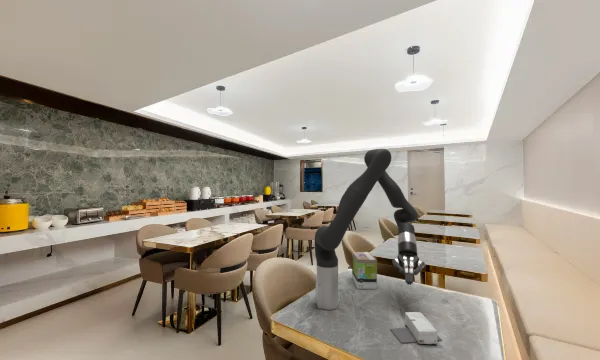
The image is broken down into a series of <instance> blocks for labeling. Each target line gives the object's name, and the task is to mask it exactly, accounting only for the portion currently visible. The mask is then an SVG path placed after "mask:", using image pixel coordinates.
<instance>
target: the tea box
mask: <svg viewBox="0 0 600 360" xmlns="http://www.w3.org/2000/svg"><path fill="white" fill-rule="evenodd" d="M351 258H352V259H351V268H352V269H351V279H352V281H353V282H354V284H355V286H356V289H358V290H377V288H378V284H377V283H378V259H377V258H376V256H374V255H373V253H371V252H370V251H352V253H351Z"/></svg>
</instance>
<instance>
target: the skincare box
mask: <svg viewBox="0 0 600 360" xmlns="http://www.w3.org/2000/svg"><path fill="white" fill-rule="evenodd" d="M404 314H405V315H404V318H405V319H404V320H405V322H404V323H405V325H406V326H407V328H409V329H410V331H411V332H412V334H413V335H414V337H415V338H416V340H417V341H418V344H421V345H423V344H426V345H432V344H433V345H434V344H435V345H437V344H438V341H437V336H438V331H437V329H436V328H435V327H434V326H433V325H432V324H431V323H430V321H429V320H428V319H427V318H426V317H425V316H424V315H423V313H422V312H421V311H418V312H417V311H411V312H410V311H408V312H407V311H406V312H404Z"/></svg>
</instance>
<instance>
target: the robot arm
mask: <svg viewBox="0 0 600 360" xmlns="http://www.w3.org/2000/svg"><path fill="white" fill-rule="evenodd" d="M363 160H364V165H366V167H367V168H366V169H365V170H364V172H363V173H361V175H360V176H359V177H358V178H356V179H354V181H353V182H351V183H350V184H349V185H348V187H347V188H346V190H345V191H344V193H343V194H342V196H341V197H340V201H339V203H338V207H337V211H336V214H335V216H334V218H333V219H332V221H331V222H330V224H329V225H328V226H327V225H324V226H323V225H322V226H320V227H319V228H317V230H316V231H315V234H314V256H315V260H316V261H315V262H316V280H315V303H316V306H317V308H318V309H321V310H329V311H330V310H336V309H337V308H338V307H339V258H338V256H337V254H336V249H337V248H338V247H339V245H340V244H341V242H342V240H343V238H344V237H345V235H346V232H347V230H348V228H349V226H350V224H352V221H353V220H354V218H355V217H356V215H357V213H358V211H359V210H361V207H362V206H363V204H364V203H365V201H366V199H367V198H368V196H369V194H370V193H371V191H372V190H373V188H374V186H375V185H376V184H377V182H378V184H379V185H380V187H381V188H382V190H383V192H384V193H385V195H386V197H387V199H388V201H389V203H390V205H391V207H393V208H395V209H397V210H395V211H394V212H393V219H394V221H395V223H396V226H397V233H398V234H397V237H398V238H397V251H398V253H397V256H396V257H397V258H395V259H394V258H393V259H392V265H393V266H394V267H395V269H397V271H398V272H399V273H400V275H404V280H405V284H407V285H409V286H412V284H414V276H417V275H418V274H420V273H421V271H422V270H423V269H424V268H425V265H426V263H425V261H421V260H420V258H419V256H418V247H417V239H416V229H415V227H414V225H413V224H412V222H416V221H417V220H418V218H419V217H418V216H419V215H418V212H417V209H415V207H414V206H413V205H412V204H411V203H410V202H409V201H408V200H407V198H406V196H405V194H404V192H403V191H402V189H401V187H400V186H399V185H398V183H397V182H396V181H395V180H394V179H393V178H392V177H391V176H390V175H389V174H388V172H387V171H386V170H387V169H388V168H389V167H390V164H391V162H392V154H391V152H390V150H388V149H386V148H375V149H374V148H373V149H370V150H367V152H366V153H365V154H364V157H363ZM416 266H417V267H416ZM415 267H416V268H415ZM414 268H415V269H414Z"/></svg>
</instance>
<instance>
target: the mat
mask: <svg viewBox="0 0 600 360" xmlns="http://www.w3.org/2000/svg"><path fill="white" fill-rule="evenodd" d="M390 332H391V333H392V334H393V335H394V336H395V338H396V339H397V340H398V342H400V344H401V345H403V344H404V345H405V344H417V343H418V341H417V340H416V338H415V337H414V335H413V334H412V332H411V331H410V329H409V328H408V327H399V328H398V327H395V328H390ZM442 341H443V339H442V338H441V337H440V336H439V335H437V342H442ZM418 344H419V343H418Z"/></svg>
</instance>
